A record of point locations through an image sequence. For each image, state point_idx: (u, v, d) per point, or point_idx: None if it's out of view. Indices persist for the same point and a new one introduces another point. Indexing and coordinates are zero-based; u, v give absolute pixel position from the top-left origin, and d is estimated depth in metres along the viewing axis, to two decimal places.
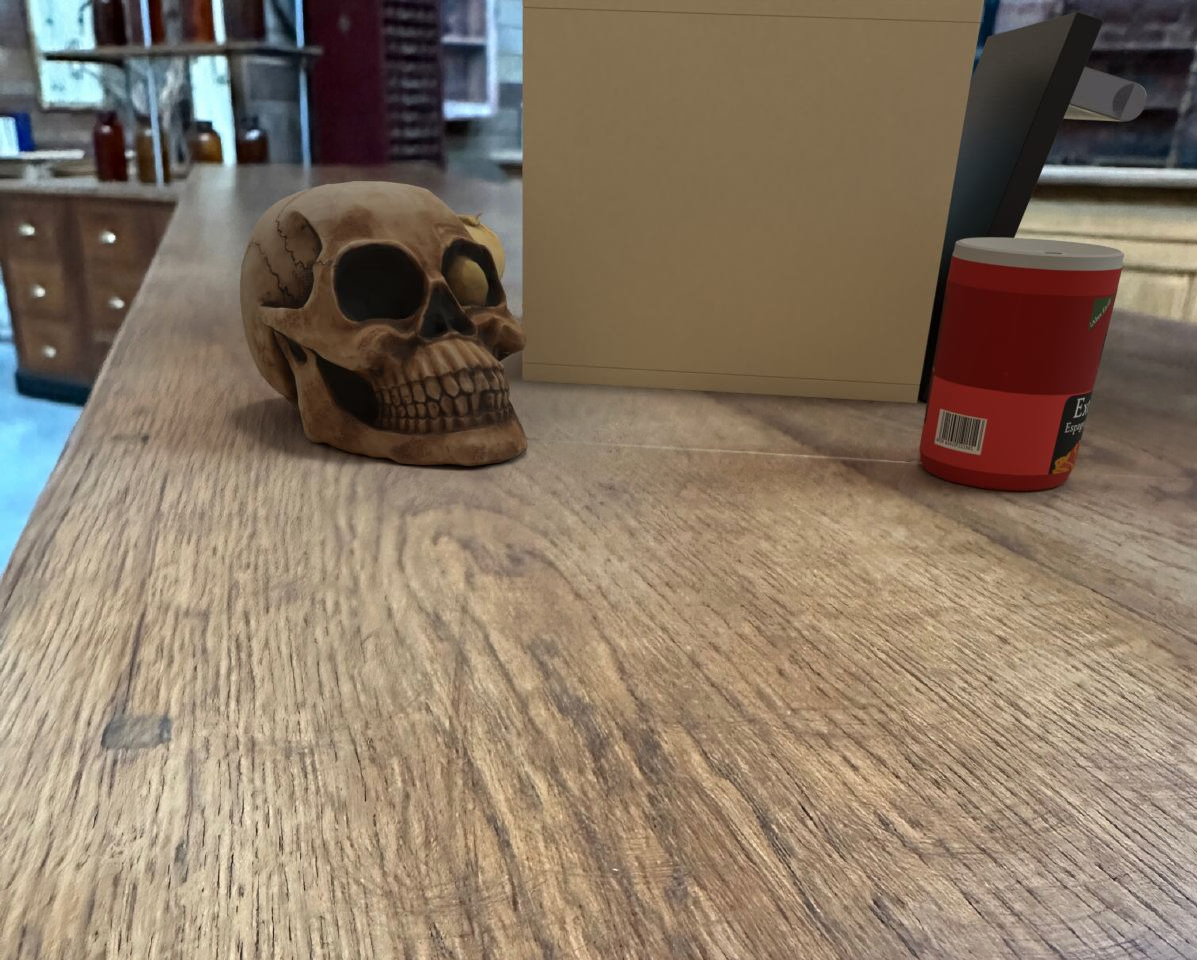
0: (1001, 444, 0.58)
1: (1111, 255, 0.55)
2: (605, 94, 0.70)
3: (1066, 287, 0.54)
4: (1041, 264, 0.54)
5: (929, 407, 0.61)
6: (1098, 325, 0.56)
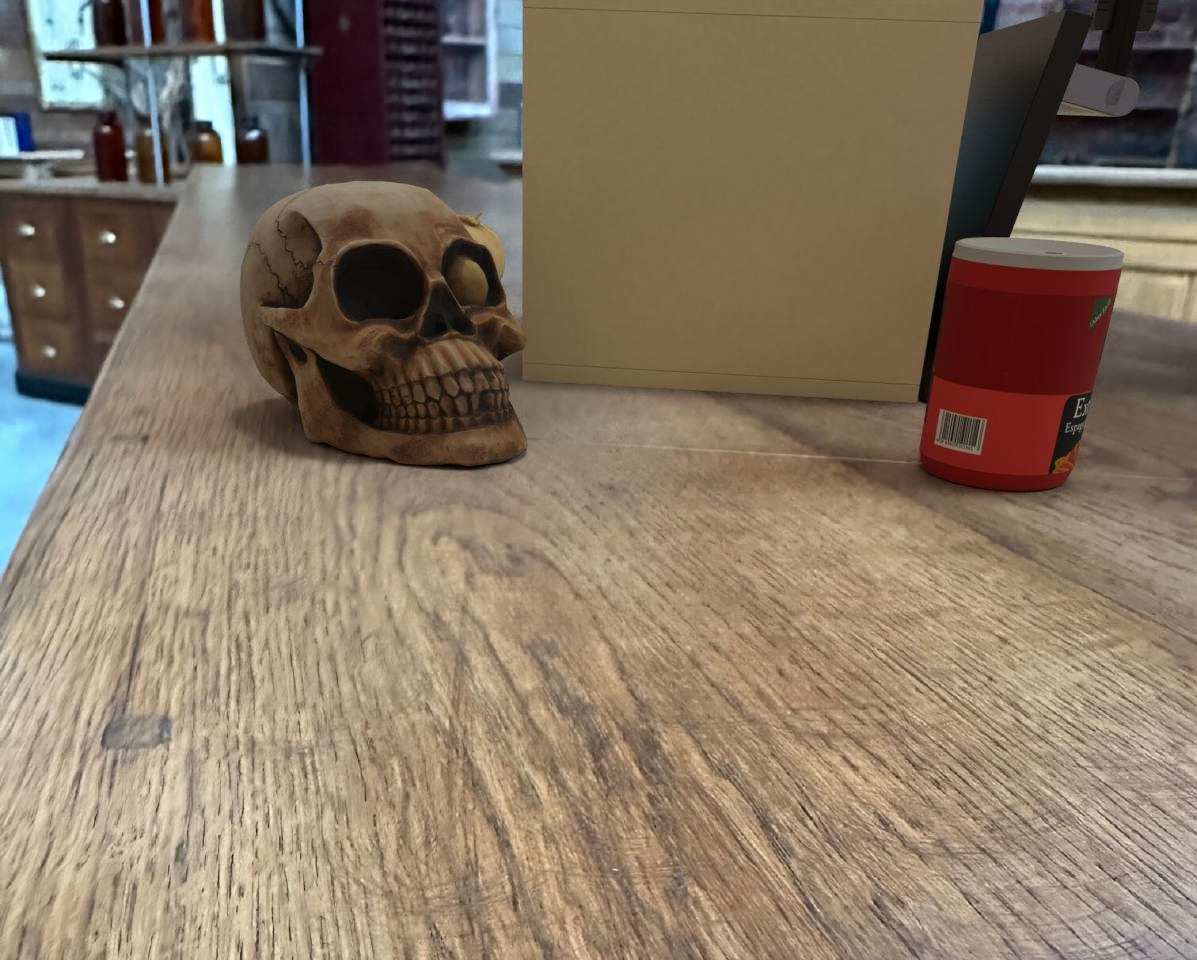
0: (1001, 444, 0.58)
1: (1111, 255, 0.55)
2: (605, 94, 0.70)
3: (1066, 287, 0.54)
4: (1041, 264, 0.54)
5: (929, 407, 0.61)
6: (1098, 325, 0.56)
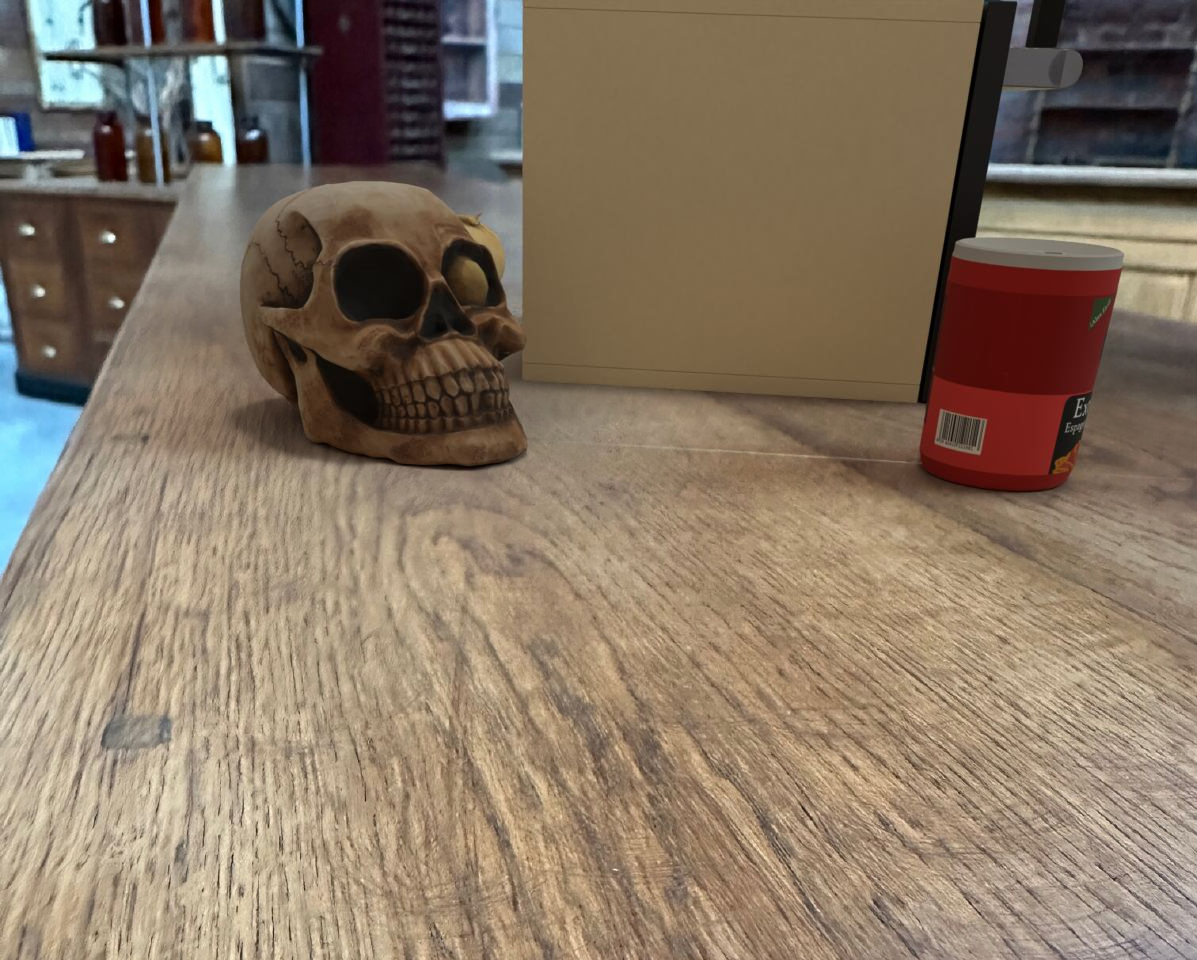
0: (1001, 444, 0.58)
1: (1111, 255, 0.55)
2: (605, 94, 0.70)
3: (1066, 287, 0.54)
4: (1041, 264, 0.54)
5: (929, 407, 0.61)
6: (1098, 325, 0.56)
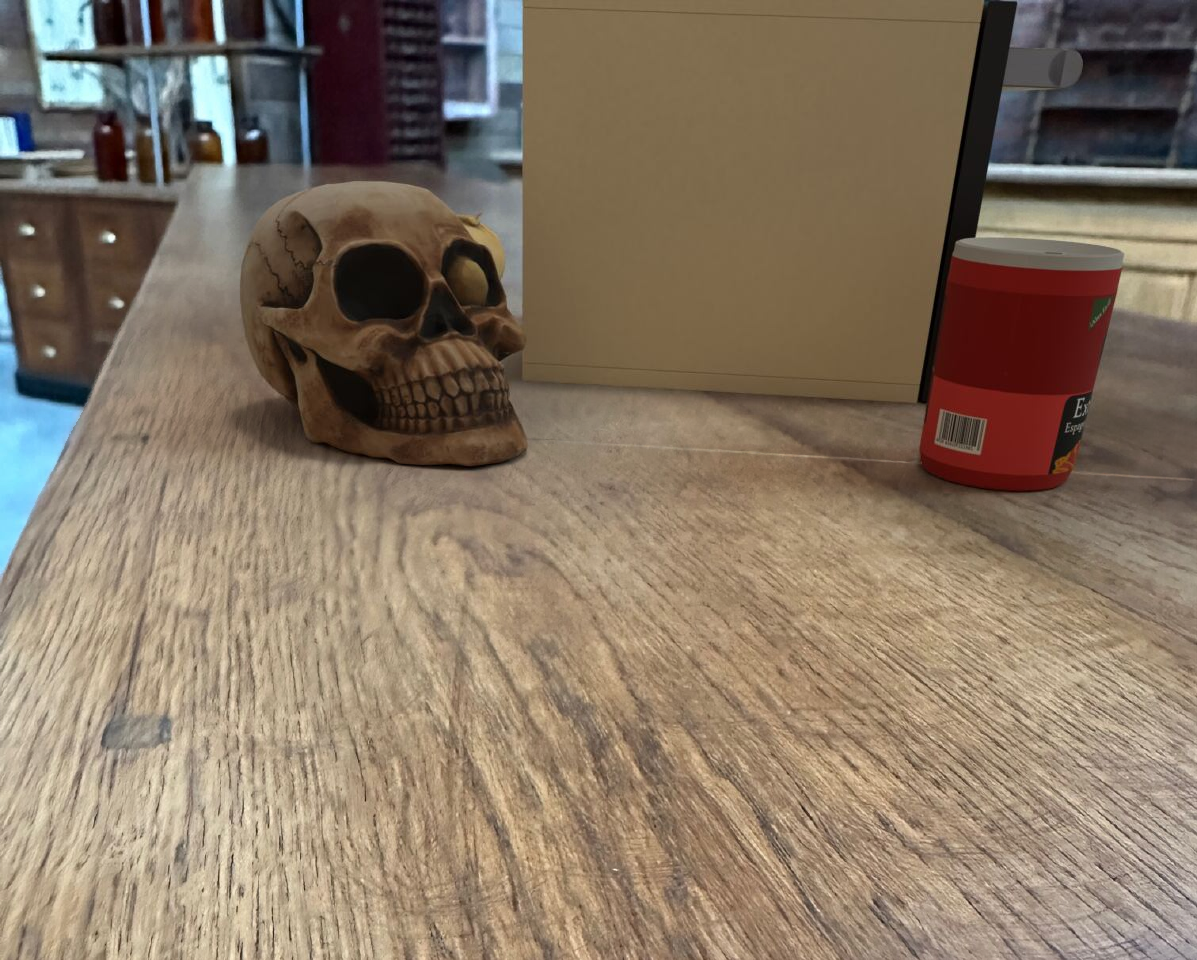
0: (1001, 444, 0.58)
1: (1111, 255, 0.55)
2: (605, 94, 0.70)
3: (1066, 287, 0.54)
4: (1041, 264, 0.54)
5: (929, 407, 0.61)
6: (1098, 325, 0.56)
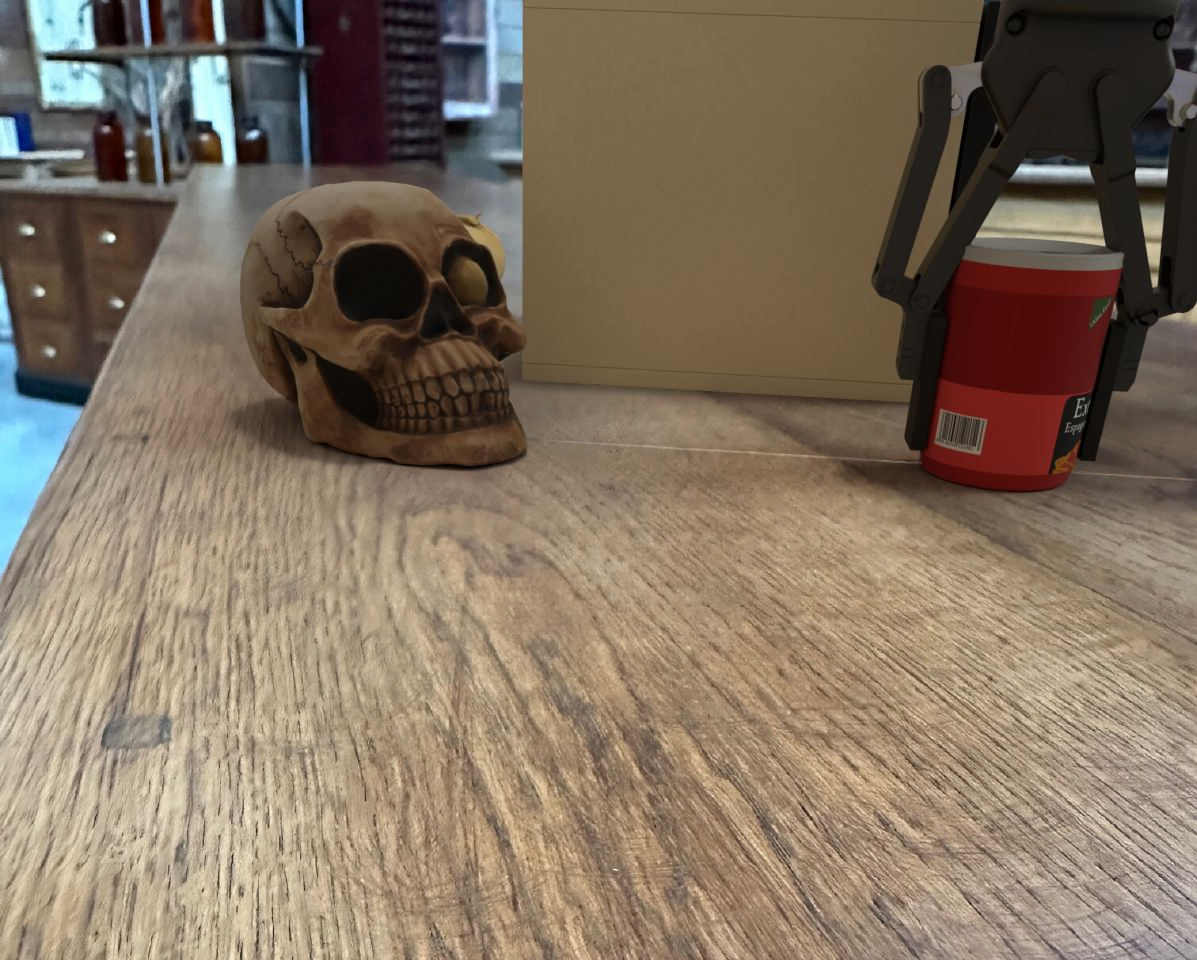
0: (1001, 444, 0.58)
1: (1111, 255, 0.55)
2: (605, 94, 0.70)
3: (1066, 287, 0.54)
4: (1041, 264, 0.54)
5: None
6: (1098, 325, 0.56)
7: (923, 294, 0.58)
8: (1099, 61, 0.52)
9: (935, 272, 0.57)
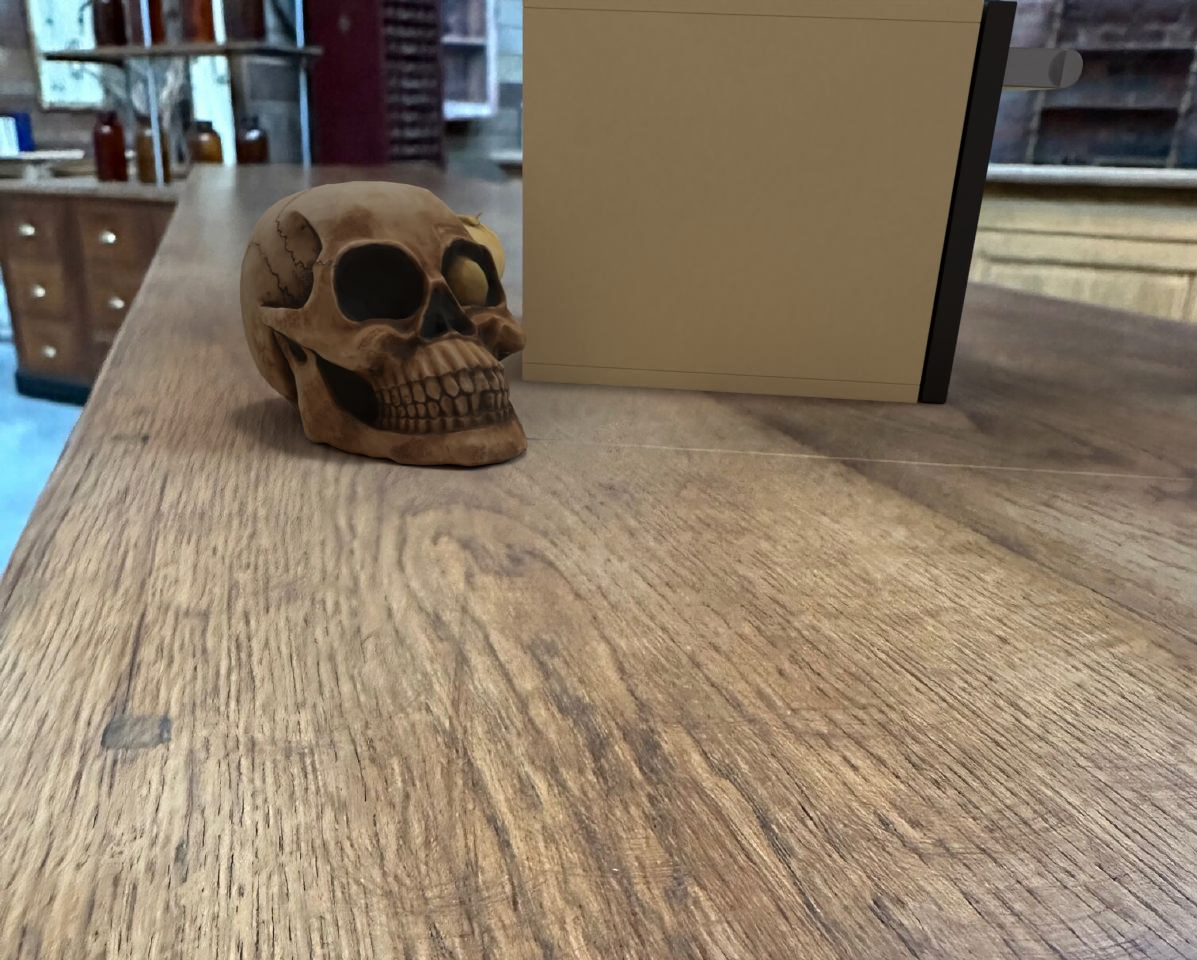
0: None
1: None
2: (605, 94, 0.70)
3: None
4: None
5: None
6: None
7: None
8: None
9: None
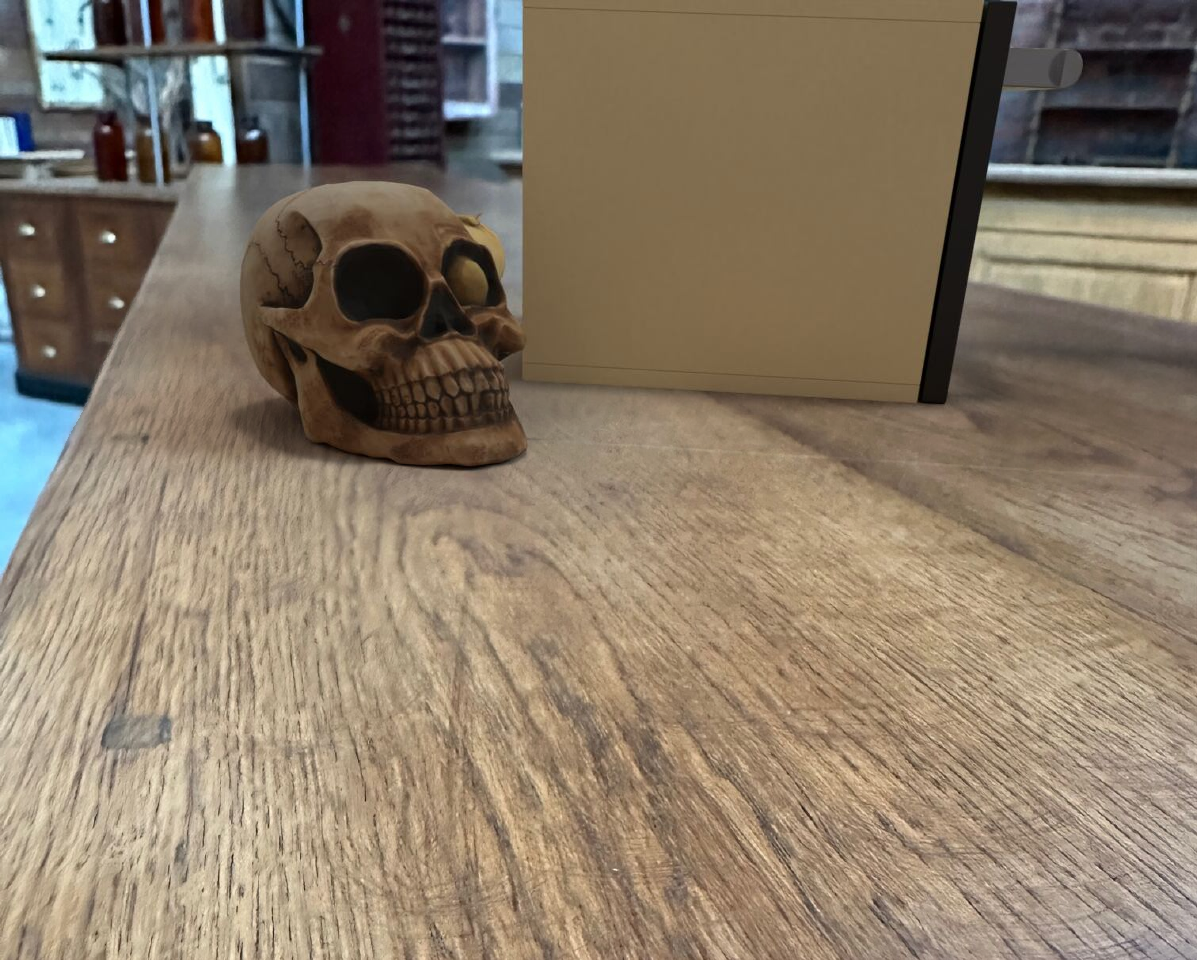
0: None
1: None
2: (605, 94, 0.70)
3: None
4: None
5: None
6: None
7: None
8: None
9: None
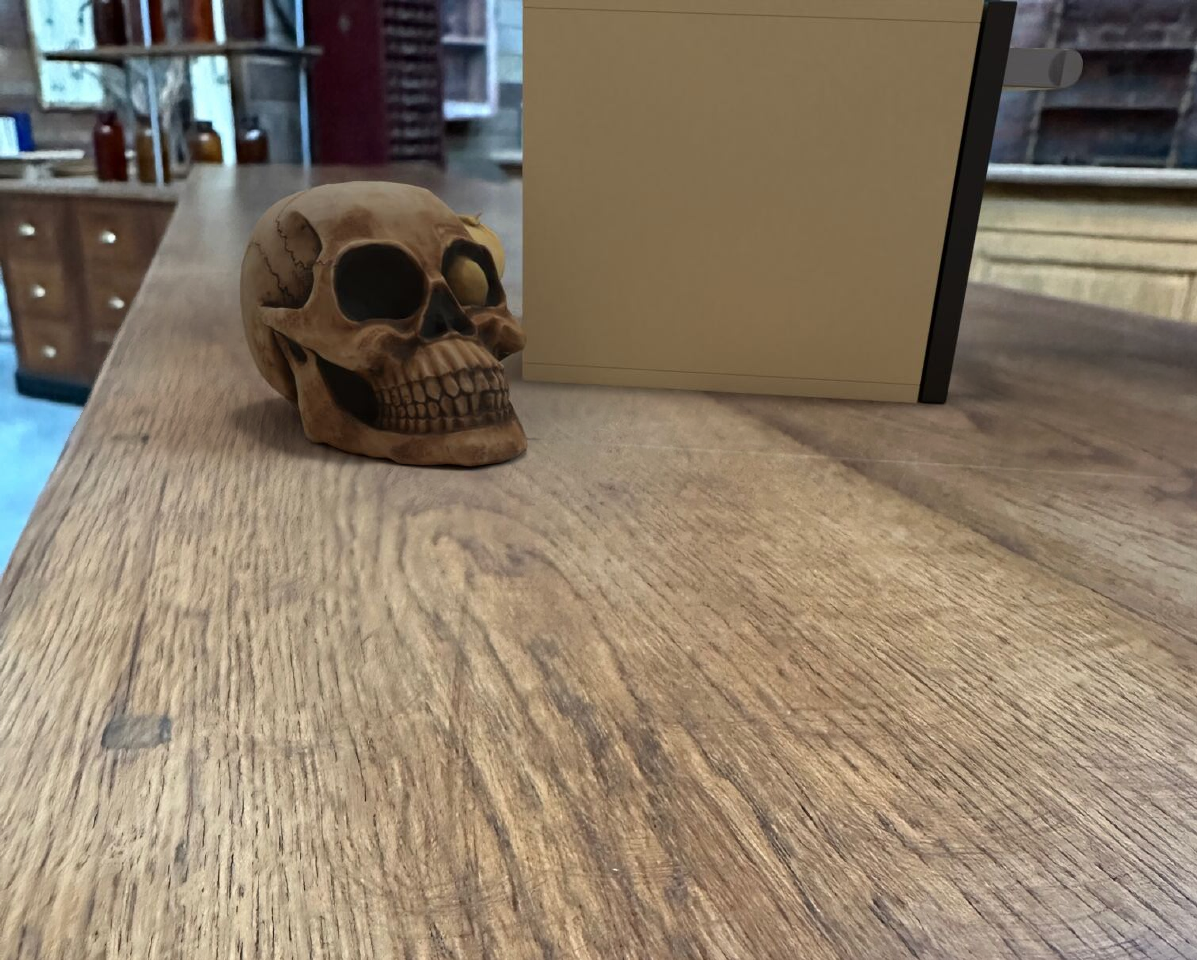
0: None
1: None
2: (605, 94, 0.70)
3: None
4: None
5: None
6: None
7: None
8: None
9: None
